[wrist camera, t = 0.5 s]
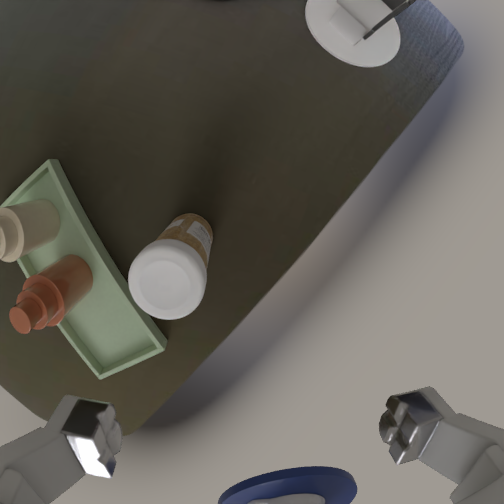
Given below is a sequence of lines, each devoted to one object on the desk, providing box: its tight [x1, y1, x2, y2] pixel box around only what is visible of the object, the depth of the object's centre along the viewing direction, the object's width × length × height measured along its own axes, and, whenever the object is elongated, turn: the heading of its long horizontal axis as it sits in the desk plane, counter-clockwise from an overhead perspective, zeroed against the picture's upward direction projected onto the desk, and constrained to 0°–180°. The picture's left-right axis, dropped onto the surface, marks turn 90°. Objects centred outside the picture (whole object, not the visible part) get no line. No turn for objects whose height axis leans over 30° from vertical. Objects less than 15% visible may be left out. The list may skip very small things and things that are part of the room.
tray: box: [0, 159, 168, 379], centre depth 28 cm, size 23×10×2 cm, turn 28°
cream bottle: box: [0, 199, 60, 262], centre depth 22 cm, size 5×5×11 cm
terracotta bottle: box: [9, 254, 93, 334], centre depth 24 cm, size 5×5×11 cm
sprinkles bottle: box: [128, 213, 213, 320], centre depth 23 cm, size 5×5×14 cm
